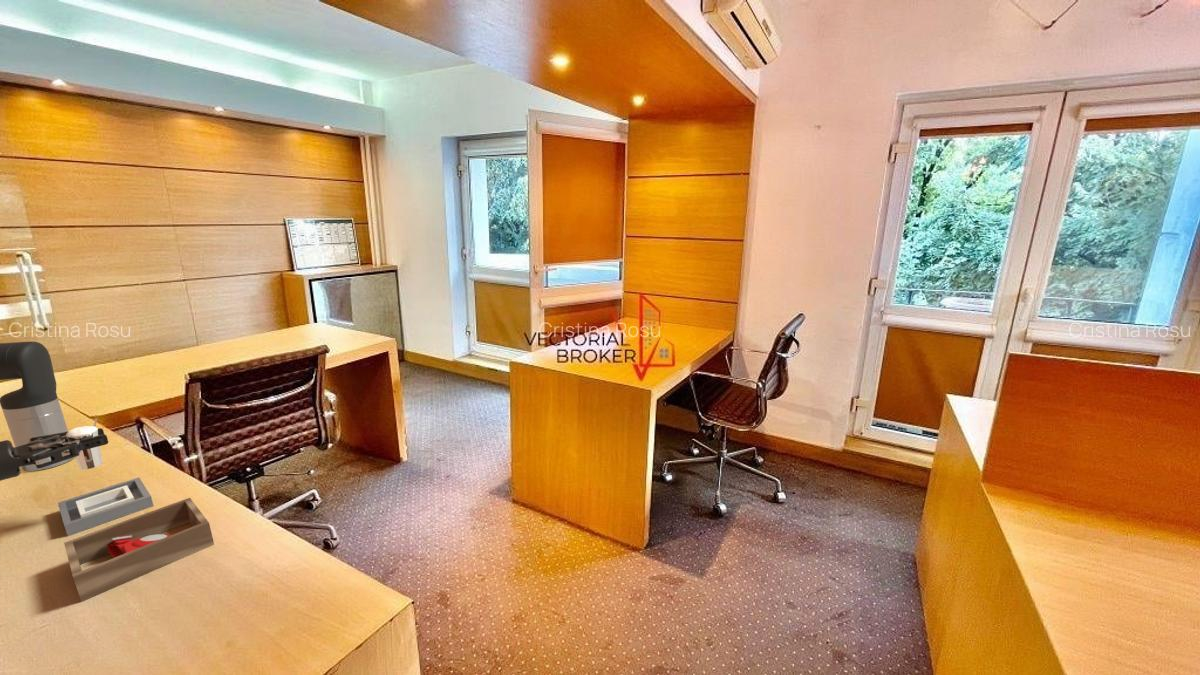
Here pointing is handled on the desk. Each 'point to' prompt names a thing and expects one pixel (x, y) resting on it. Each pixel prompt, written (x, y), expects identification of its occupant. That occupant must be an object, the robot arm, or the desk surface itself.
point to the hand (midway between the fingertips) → (104, 435)
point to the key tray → (143, 557)
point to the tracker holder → (130, 543)
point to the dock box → (104, 505)
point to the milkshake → (88, 456)
